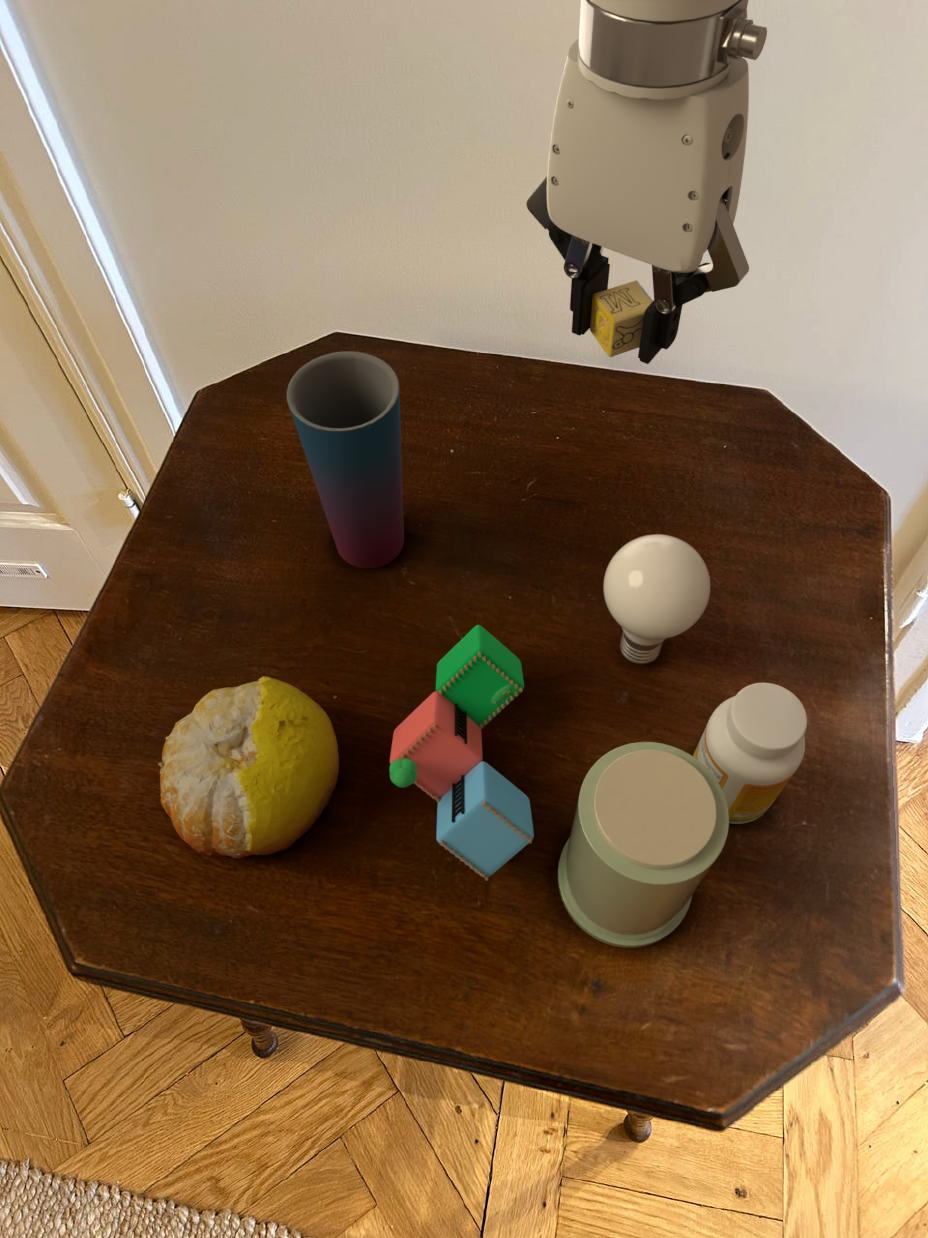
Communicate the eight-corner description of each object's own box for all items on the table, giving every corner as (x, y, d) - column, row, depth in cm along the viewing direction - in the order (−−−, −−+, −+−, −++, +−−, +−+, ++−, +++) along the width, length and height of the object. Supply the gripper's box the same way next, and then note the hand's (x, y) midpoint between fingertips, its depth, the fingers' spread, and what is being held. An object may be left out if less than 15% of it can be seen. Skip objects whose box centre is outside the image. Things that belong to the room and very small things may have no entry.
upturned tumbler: (714, 863, 54) (766, 786, 44) (649, 977, 50) (689, 922, 40) (601, 792, 56) (625, 703, 46) (531, 895, 53) (541, 824, 43)
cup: (406, 584, 65) (386, 436, 52) (314, 573, 66) (273, 424, 53) (423, 510, 69) (408, 356, 56) (336, 501, 69) (302, 346, 57)
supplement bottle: (785, 769, 57) (836, 697, 49) (754, 842, 54) (801, 779, 46) (705, 730, 58) (740, 654, 50) (671, 799, 56) (702, 731, 48)
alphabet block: (653, 345, 58) (659, 306, 56) (609, 359, 58) (614, 320, 55) (631, 317, 60) (636, 277, 57) (588, 330, 59) (591, 291, 57)
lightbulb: (574, 635, 62) (588, 537, 53) (651, 599, 64) (679, 498, 55) (624, 708, 59) (649, 618, 50) (704, 668, 61) (743, 573, 51)
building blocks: (481, 771, 62) (486, 885, 51) (392, 699, 60) (377, 801, 49) (564, 696, 60) (587, 798, 49) (474, 618, 58) (478, 706, 47)
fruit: (228, 673, 61) (231, 623, 54) (360, 754, 61) (381, 715, 54) (121, 814, 55) (109, 779, 48) (267, 904, 55) (276, 882, 48)
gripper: (858, 37, 42) (766, 350, 57) (552, -40, 48) (543, 263, 63) (788, 112, 39) (711, 422, 54) (469, 20, 45) (481, 323, 60)
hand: (621, 333), depth 59 cm, fingers closed on alphabet block, 4 cm apart
